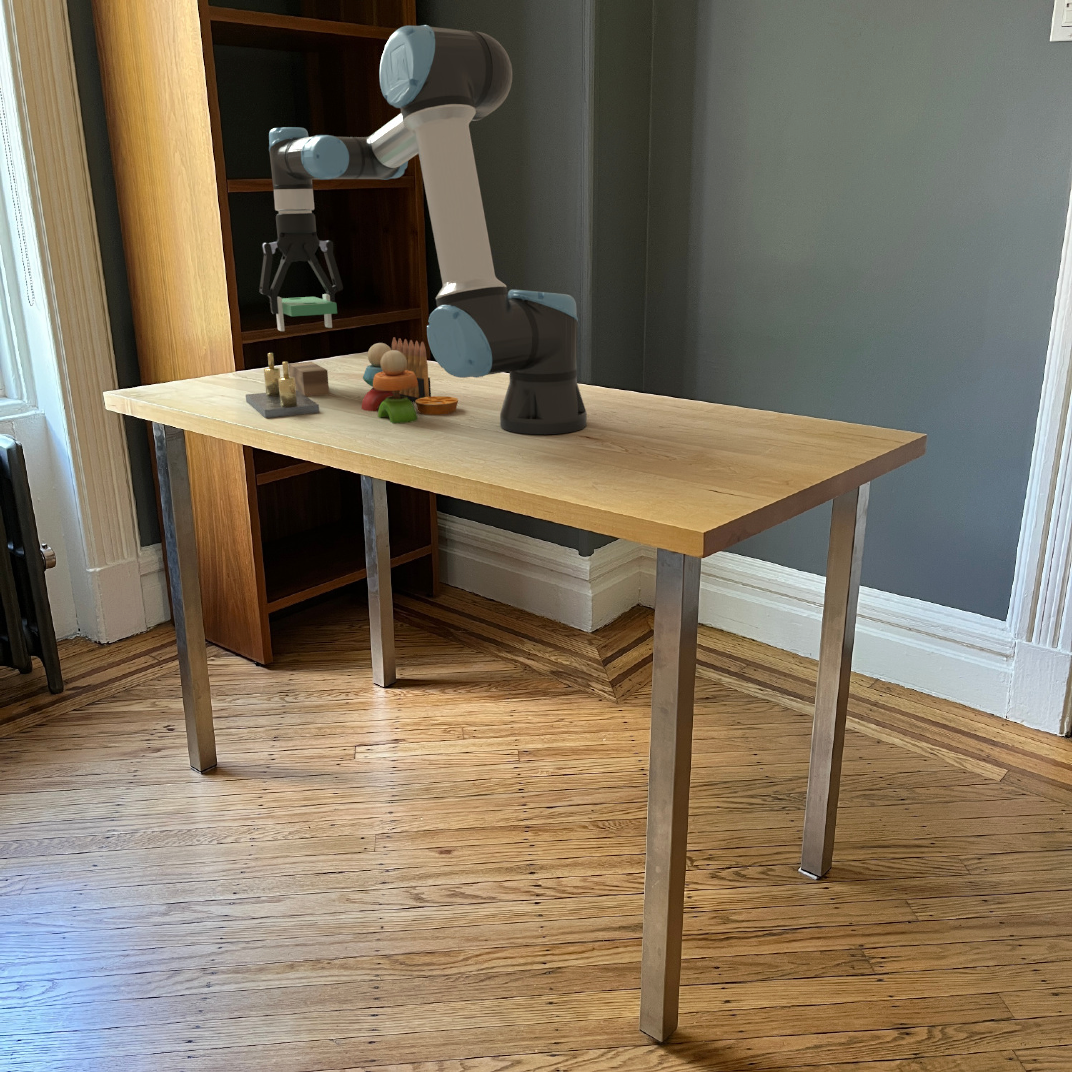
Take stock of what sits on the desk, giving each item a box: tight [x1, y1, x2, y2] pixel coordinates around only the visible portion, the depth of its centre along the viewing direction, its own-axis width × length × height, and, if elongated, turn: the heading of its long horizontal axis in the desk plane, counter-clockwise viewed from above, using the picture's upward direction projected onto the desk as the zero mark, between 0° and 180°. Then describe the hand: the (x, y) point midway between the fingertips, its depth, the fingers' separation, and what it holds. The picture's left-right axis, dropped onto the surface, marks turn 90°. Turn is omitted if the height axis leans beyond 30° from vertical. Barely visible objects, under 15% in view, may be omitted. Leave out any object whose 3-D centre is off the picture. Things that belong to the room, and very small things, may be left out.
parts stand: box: [288, 361, 330, 397], centre depth 215 cm, size 12×5×5 cm, turn 26°
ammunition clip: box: [391, 337, 432, 404], centre depth 203 cm, size 11×2×12 cm, turn 44°
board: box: [282, 296, 338, 317], centre depth 210 cm, size 17×9×2 cm, turn 26°
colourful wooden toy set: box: [361, 342, 459, 424], centre depth 194 cm, size 18×17×12 cm
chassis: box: [245, 352, 320, 419], centre depth 199 cm, size 17×10×10 cm, turn 26°
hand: (305, 328), depth 211 cm, fingers closed on board, 9 cm apart
